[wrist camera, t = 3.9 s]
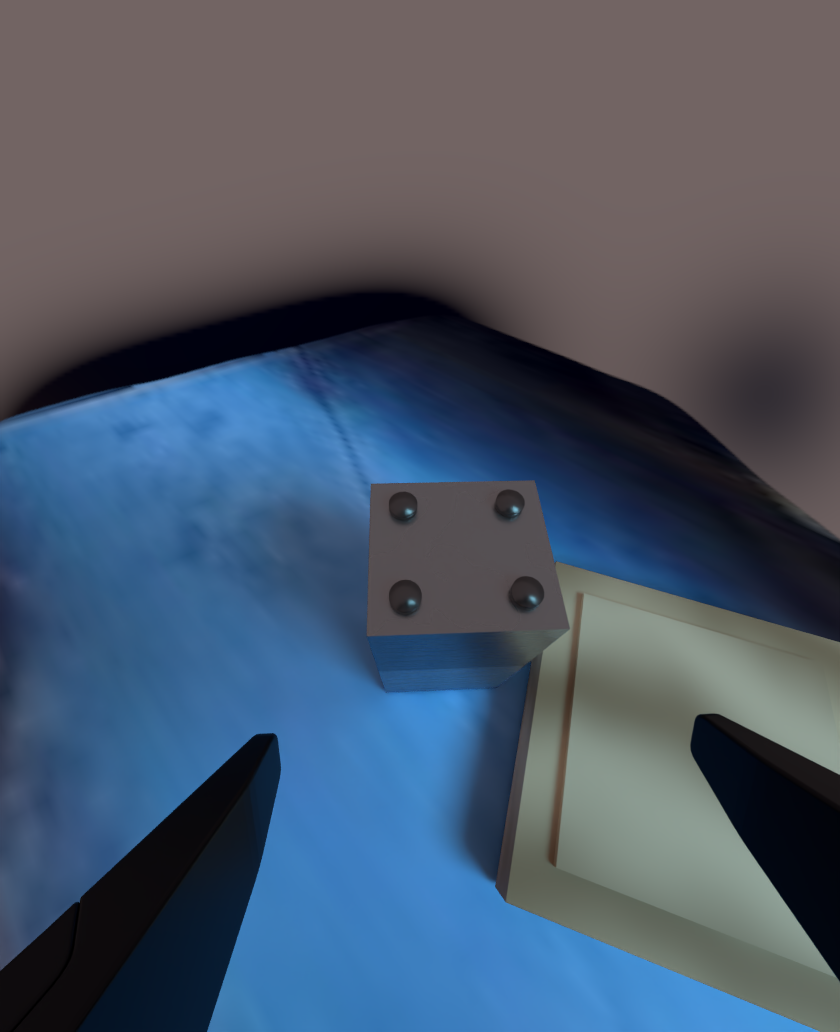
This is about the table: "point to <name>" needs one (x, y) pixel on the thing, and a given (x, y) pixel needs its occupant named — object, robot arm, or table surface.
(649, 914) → the stand
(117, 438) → the table surface
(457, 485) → the plate
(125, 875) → the robot arm
